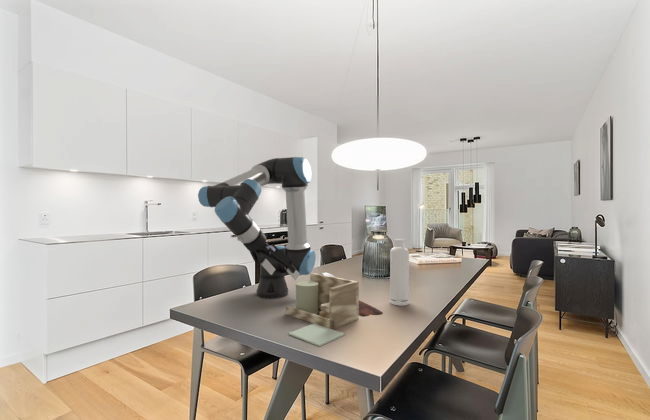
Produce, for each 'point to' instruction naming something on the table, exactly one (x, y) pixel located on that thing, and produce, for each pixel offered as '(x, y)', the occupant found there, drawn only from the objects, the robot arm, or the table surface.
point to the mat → (316, 334)
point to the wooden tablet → (367, 309)
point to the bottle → (399, 273)
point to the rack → (332, 302)
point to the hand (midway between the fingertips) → (284, 274)
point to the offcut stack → (325, 310)
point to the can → (307, 296)
